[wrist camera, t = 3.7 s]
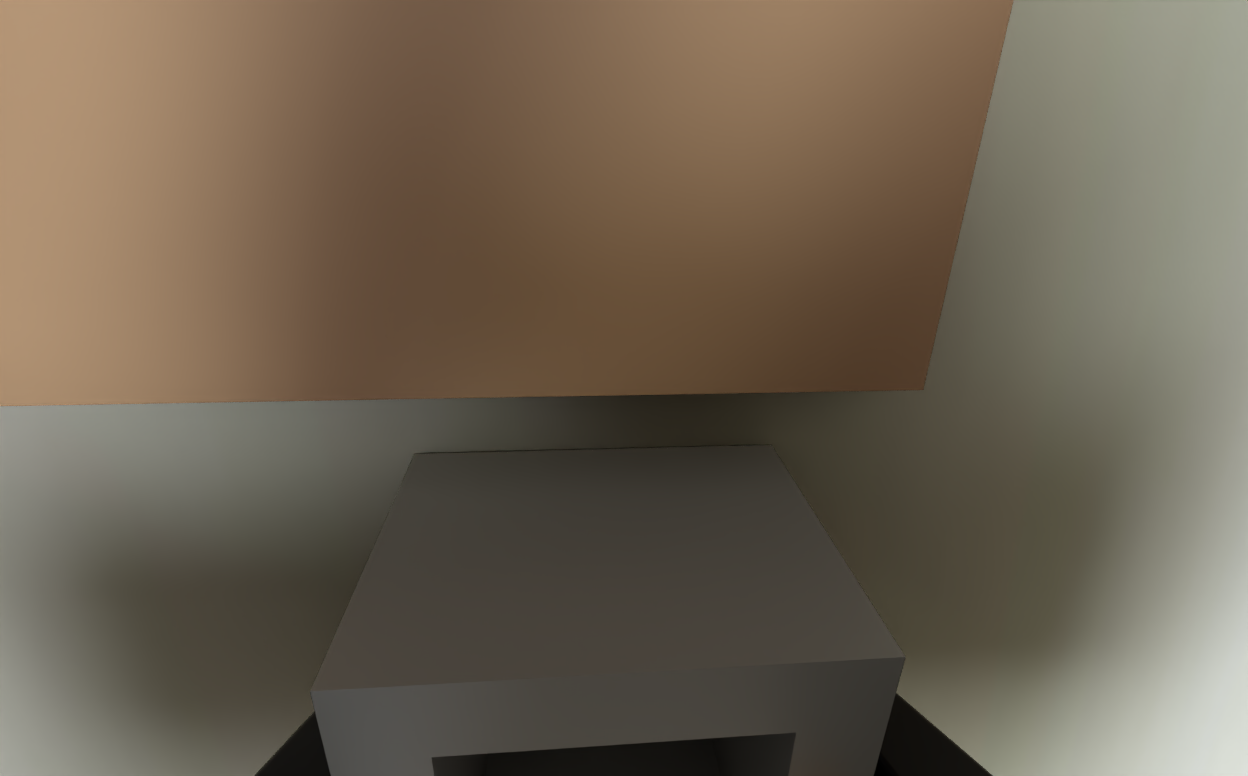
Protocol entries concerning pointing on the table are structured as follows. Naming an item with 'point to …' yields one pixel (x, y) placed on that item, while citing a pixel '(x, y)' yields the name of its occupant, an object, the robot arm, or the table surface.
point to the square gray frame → (606, 624)
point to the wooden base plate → (481, 195)
